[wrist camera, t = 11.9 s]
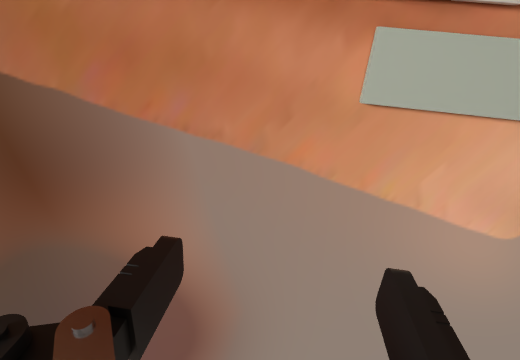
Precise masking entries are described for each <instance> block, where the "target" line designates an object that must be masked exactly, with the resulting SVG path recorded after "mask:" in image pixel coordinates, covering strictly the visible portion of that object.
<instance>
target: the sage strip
mask: <svg viewBox="0 0 520 360" xmlns="http://www.w3.org/2000/svg"><path fill="white" fill-rule="evenodd" d="M359 102H360V103H365V104H374V105H383V106H392V107H401V108H411V109H420V110H429V111H438V112H447V113H456V114H465V115H475V116H484V117H493V118H502V119H511V120H520V39H515V38H504V37H493V36H481V35H470V34H458V33H447V32H436V31H424V30H413V29H402V28H390V27H376V31H375V35H374V40H373V44H372V48H371V53H370V57H369V61H368V66H367V70H366V75H365V79H364V83H363V88H362V92H361V96H360V101H359Z"/></svg>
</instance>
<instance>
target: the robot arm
mask: <svg viewBox="0 0 520 360" xmlns="http://www.w3.org/2000/svg"><path fill="white" fill-rule="evenodd" d="M183 271H184V265H183V245H182V239H181V238H175V237H168V236H161V237H160V238H159V240H158V241H157V243H156V244H155V245H154V246H153V247H145V248H144V249H142V250H141V251H139V252H138V253H136V254H135V255H134V256H133V257H132V258H131V259H130V261H129V262H128V263H127V265H126V266H125V267H124V268H123V269H122V270H121V271H120V274H118V275H117V276H116V277H115V279H114V280H113V281H112V282H111V283H110V285H109V286H108V287H107V288H106V289H105V291H104V292H103V293H102V294H101V296H100V297H99V298H98V299H97V300H96V301H95V303H94V304H93V305H92V306H88V307H84V308H81V309H78V310H76V311H74V312H73V313H71V314H69V315H68V316H67V317H66V318H64V319H63V320H62V321H61V322H60V323H53V324H46V325H38V326H30V327H29V325H28V322H27V320H26V318H25V317H24V316H22V315H19V314H8V315H3V316H0V360H128V359H129V360H140V359H141V357H142V355H143V353H144V351H145V349H146V348H147V345H148V344H149V342H150V340H151V338H152V336H153V334H154V332H155V330H156V329H157V327H158V325H159V323H160V321H161V319H162V317H163V315H164V313H165V311H166V310H167V308H168V306H169V304H170V302H171V300H172V298H173V296H174V295H175V292H176V291H177V289H178V287H179V285H180V283H181V280H182V277H183ZM376 315H377V319H378V322H379V326H380V329H381V332H382V336H383V339H384V343H385V346H386V349H387V353H388V356H389V360H470V359H469V357H468V355H467V353H466V351H465V350H464V348H463V346H462V344H461V342H460V341H459V339H458V337H457V335H456V333H455V332H454V330H453V328H452V327H451V326H450V323H449V321H448V319H447V317H446V316H445V315H444V312H443V310H442V308H441V307H440V305H439V303H438V301H437V299H436V298H434V296H432V294H430V293H429V292H428V291H427V290H426V289H425V288H424V287H418V286H417V284H416V282H415V280H414V278H413V276H412V274H411V273H410V272H409V271H405V270H399V269H391V268H387V269H386V270H385V273H384V276H383V279H382V282H381V285H380V288H379V291H378V294H377V298H376Z"/></svg>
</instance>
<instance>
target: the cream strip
mask: <svg viewBox="0 0 520 360" xmlns="http://www.w3.org/2000/svg"><path fill="white" fill-rule="evenodd" d="M453 1H465V2H478V3H491V4H503V5H520V0H453Z"/></svg>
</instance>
